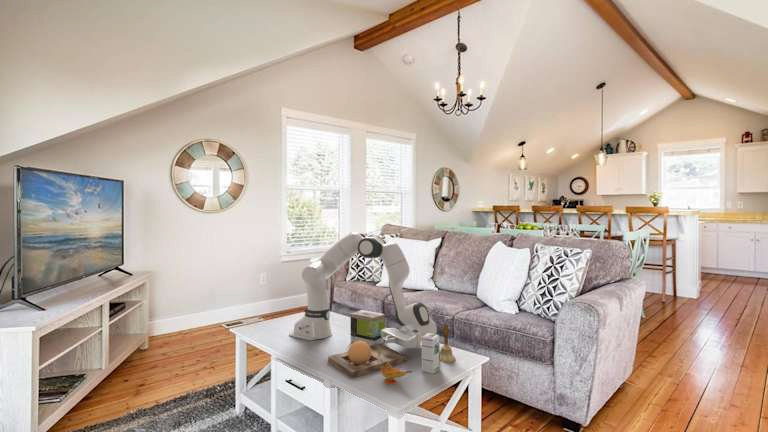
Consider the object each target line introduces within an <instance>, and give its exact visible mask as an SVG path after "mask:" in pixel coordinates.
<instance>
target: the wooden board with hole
mask: <svg viewBox="0 0 768 432" xmlns="http://www.w3.org/2000/svg"><path fill="white" fill-rule="evenodd" d="M370 349H371V357H370V359H369V361H368V362H367V363H365V364H362V365H355V364H354V363H352V362H351V361H350V359H349V357H348V351H345V352H340V353H338V354H333V355H329V356H327V363H329V364H330V365H332V366H333V367H335V368H336V369H337V370H339V371H341V372H342V373H344V374H345V375H346V376H348V377H350V378H351V379H354V378H358V377H361V376H363V375H368V374H371V373H374V372H377V371H382V370H381V369H383V368H385V367H386V366H384V365H386V364H387V363H388V362H389V363H390V365H391V366H392V367H394V366H397V365H400V364H403V363H407V361H408V360H407V355H406V354H403V353H401V352H399V351H398V350H395V349H393V348H391V347H388V346H387V345H385V344H380V343H379V344H375V345H371V346H370ZM378 349H379V350H380V351H381V354H380V357H379V356H378V354H379V353H378ZM377 356H378V358H377ZM380 358H381V360H380ZM377 360H378V362H379V363H380V364H381V366H382V367H383V368H382V367H381V366H380V365H379V363H378V362H377ZM349 361H350V362H349ZM381 361H382V363H383V364H384V365H383V364H382V363H381Z"/></svg>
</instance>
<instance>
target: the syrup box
mask: <svg viewBox="0 0 768 432" xmlns="http://www.w3.org/2000/svg"><path fill="white" fill-rule="evenodd" d="M421 339H422V341H421V371H422V372H425V373H430V374H435V373H436V372H438V370H440V369H441V368H440V367H441V365H440V362H441V361H440V352H441V348H440V335H439V334H437V333H436V334H432V333H427V334H426V335H424V336H422V337H421Z"/></svg>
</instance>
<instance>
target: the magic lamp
mask: <svg viewBox="0 0 768 432" xmlns="http://www.w3.org/2000/svg"><path fill="white" fill-rule="evenodd" d="M378 353H379V354H378V356H379V357H380V354H381V351H380V350H379V349H378ZM378 356H377V358H378ZM380 360H381V358H380ZM377 362H378V360H377ZM378 363H379V362H378ZM381 363H382V361H381ZM382 364H383V363H382ZM379 365H380V366H381V364H380V363H379ZM383 365H384V364H383ZM384 366H386V367H385V368H383V367H382V366H381V367H382V368H383V369H381V370H380V372H381V374H382V376H383V377H384V378H386V379H384V380H383V383H384V384H387V385H394V384H396V383H397V382H398V381H397V379H398V378H400V377H403V376H405V375H407V374H409V373H410V374H411V373H413V371H412V370H405V371H404V370H403V371H401V370H399V368H397V367H394V366H391V365H390V363H389V362H388V363H387V364H386V365H384ZM396 378H397V379H396Z"/></svg>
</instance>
